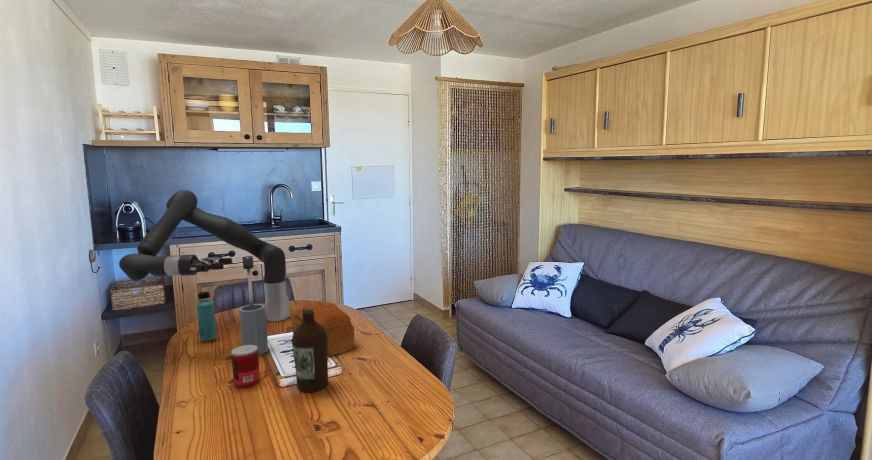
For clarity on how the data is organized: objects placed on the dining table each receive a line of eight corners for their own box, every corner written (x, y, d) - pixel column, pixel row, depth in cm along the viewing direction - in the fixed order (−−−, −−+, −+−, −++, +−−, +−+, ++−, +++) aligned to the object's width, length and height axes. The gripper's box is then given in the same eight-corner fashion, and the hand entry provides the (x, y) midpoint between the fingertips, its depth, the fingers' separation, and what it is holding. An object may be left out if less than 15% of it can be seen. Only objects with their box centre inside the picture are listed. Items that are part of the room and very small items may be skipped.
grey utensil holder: (261, 343, 185) (257, 301, 182) (276, 348, 179) (273, 305, 177) (236, 352, 177) (232, 308, 174) (251, 358, 171) (247, 313, 169)
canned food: (265, 377, 155) (262, 345, 154) (248, 389, 148) (245, 355, 146) (246, 375, 158) (243, 343, 156) (228, 385, 150) (225, 352, 149)
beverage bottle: (220, 337, 192) (216, 290, 189) (211, 344, 186) (206, 294, 183) (205, 337, 193) (200, 289, 190) (196, 343, 186) (190, 294, 183)
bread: (318, 360, 168) (315, 317, 166) (290, 339, 189) (287, 301, 187) (359, 348, 178) (356, 308, 176) (327, 330, 199) (325, 293, 196)
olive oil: (307, 376, 156) (302, 302, 152) (336, 380, 152) (331, 304, 149) (288, 391, 146) (282, 312, 142) (318, 395, 142) (313, 315, 139)
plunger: (255, 317, 180) (250, 254, 176) (264, 319, 176) (259, 256, 173) (240, 321, 175) (235, 257, 171) (250, 324, 171) (244, 259, 168)
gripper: (170, 259, 163) (219, 257, 164) (189, 251, 177) (233, 249, 178) (173, 280, 164) (221, 278, 165) (191, 270, 179) (235, 269, 179)
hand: (227, 263), depth 172 cm, fingers open, 8 cm apart
